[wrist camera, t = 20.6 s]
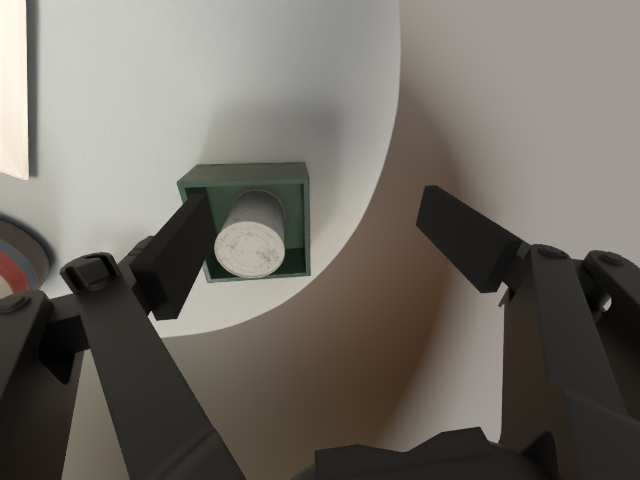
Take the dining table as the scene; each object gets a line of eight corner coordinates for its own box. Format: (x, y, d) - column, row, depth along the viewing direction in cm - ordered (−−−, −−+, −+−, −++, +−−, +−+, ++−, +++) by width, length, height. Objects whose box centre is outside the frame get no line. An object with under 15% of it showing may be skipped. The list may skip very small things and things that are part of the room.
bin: (304, 162, 42) (308, 178, 34) (307, 248, 51) (310, 275, 43) (196, 164, 40) (176, 182, 32) (219, 253, 49) (207, 283, 42)
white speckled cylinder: (251, 244, 48) (241, 287, 37) (219, 204, 43) (198, 241, 32) (294, 222, 46) (296, 261, 36) (266, 179, 42) (260, 209, 31)
